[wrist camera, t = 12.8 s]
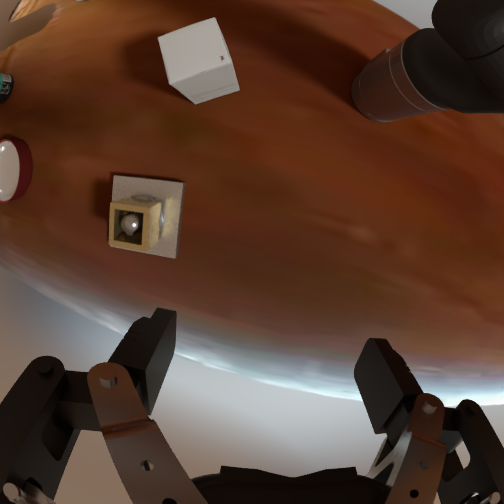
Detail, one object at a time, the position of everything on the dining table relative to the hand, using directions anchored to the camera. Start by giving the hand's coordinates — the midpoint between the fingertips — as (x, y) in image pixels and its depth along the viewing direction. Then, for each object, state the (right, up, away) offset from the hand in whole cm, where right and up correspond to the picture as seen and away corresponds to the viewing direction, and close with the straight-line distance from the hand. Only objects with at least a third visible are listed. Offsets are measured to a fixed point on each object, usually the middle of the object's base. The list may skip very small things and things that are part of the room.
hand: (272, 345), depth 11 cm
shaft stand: (-18, +10, +32) cm, 38 cm away
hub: (-18, +9, +30) cm, 36 cm away
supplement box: (-7, +30, +25) cm, 40 cm away
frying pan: (-59, +24, +28) cm, 70 cm away
